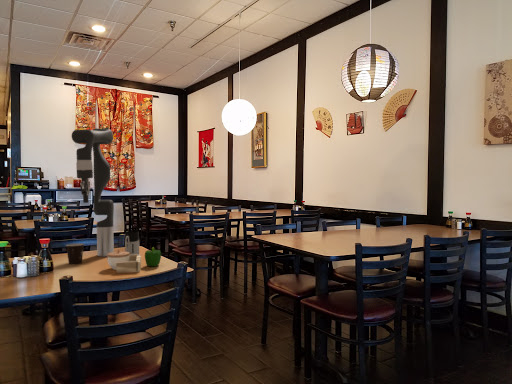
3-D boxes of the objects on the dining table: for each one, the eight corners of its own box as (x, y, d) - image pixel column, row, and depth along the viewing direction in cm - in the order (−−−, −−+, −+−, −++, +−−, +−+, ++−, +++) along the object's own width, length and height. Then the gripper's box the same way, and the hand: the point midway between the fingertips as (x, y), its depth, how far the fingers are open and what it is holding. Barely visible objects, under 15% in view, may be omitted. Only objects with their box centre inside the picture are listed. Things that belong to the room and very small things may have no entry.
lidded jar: (103, 268, 193) (103, 250, 192) (124, 265, 200) (124, 247, 200) (112, 272, 185) (112, 252, 185) (133, 268, 192) (133, 250, 192)
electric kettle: (142, 256, 223) (142, 231, 222) (133, 261, 209) (133, 234, 208) (127, 256, 223) (127, 231, 223) (118, 261, 209) (117, 234, 209)
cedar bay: (119, 264, 201) (119, 255, 201) (141, 263, 204) (141, 254, 204) (116, 273, 182) (116, 262, 182) (140, 271, 185) (140, 261, 185)
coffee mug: (73, 261, 210) (73, 243, 210) (87, 261, 208) (87, 243, 208) (58, 265, 198) (58, 246, 198) (73, 266, 197) (72, 247, 196)
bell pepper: (147, 264, 202) (146, 245, 202) (162, 264, 202) (162, 245, 202) (142, 267, 194) (142, 248, 194) (158, 267, 194) (158, 248, 194)
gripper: (79, 168, 199) (80, 201, 200) (73, 169, 186) (75, 204, 187) (94, 168, 200) (95, 201, 202) (90, 169, 188) (91, 203, 189)
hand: (85, 202), depth 195 cm, fingers closed
